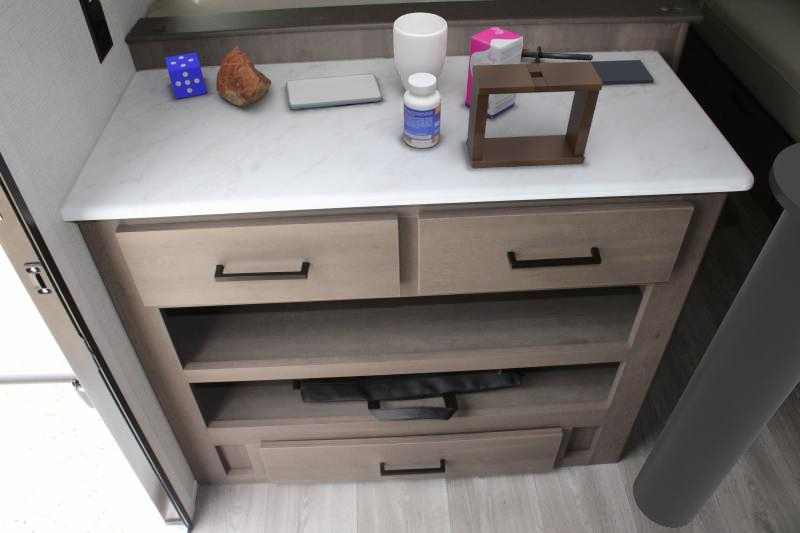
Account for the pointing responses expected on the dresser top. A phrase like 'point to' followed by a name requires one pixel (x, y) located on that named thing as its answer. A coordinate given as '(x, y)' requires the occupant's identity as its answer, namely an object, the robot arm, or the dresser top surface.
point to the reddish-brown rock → (240, 79)
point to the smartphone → (333, 91)
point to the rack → (532, 81)
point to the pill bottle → (422, 111)
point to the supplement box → (494, 62)
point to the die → (186, 75)
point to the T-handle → (554, 55)
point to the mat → (622, 72)
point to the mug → (419, 45)
